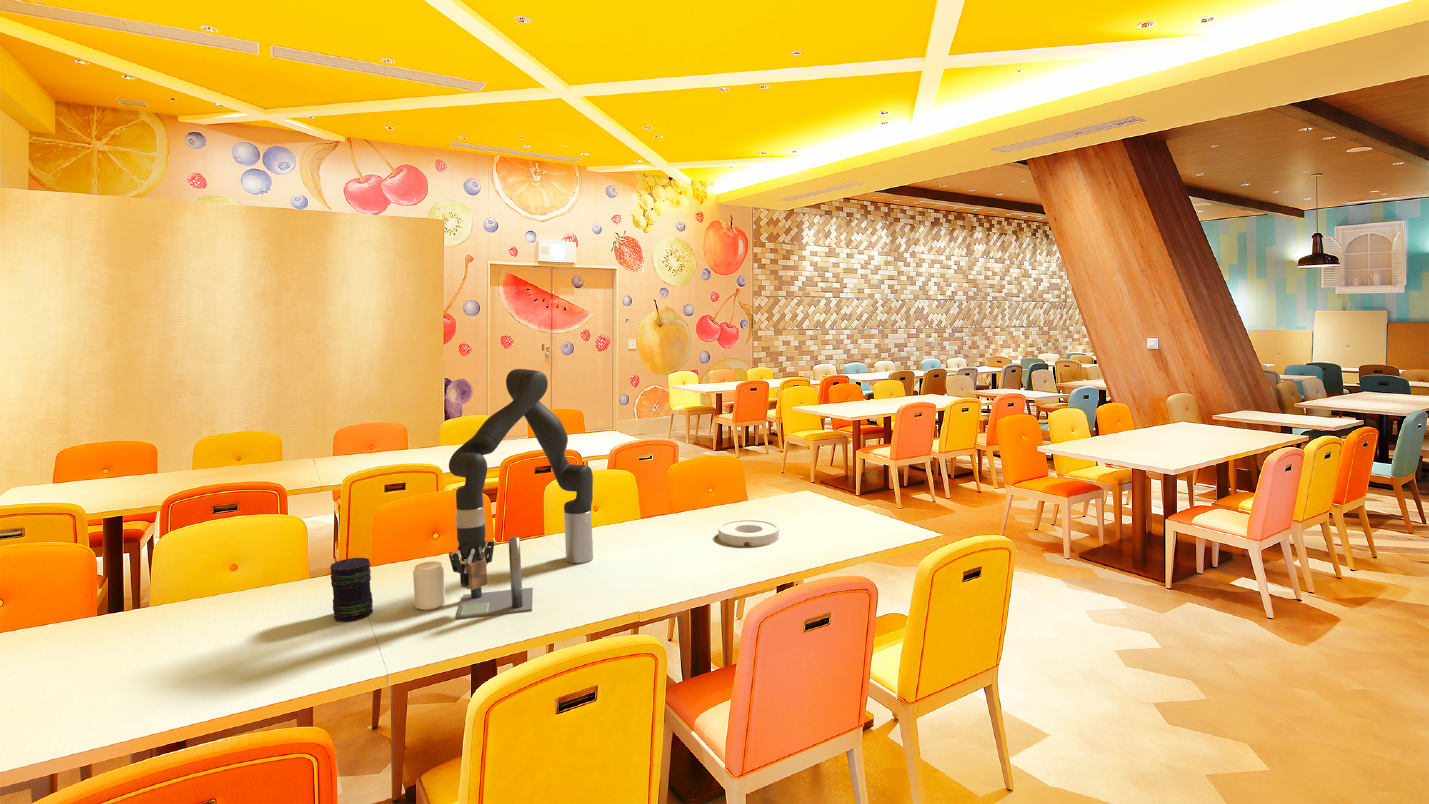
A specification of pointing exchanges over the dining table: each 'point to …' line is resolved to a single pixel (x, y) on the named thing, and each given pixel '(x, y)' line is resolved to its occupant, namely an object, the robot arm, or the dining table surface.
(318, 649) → the dining table surface
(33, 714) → the dining table surface
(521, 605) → the post
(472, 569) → the walnut block
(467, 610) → the pad
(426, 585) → the beverage can
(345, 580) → the black cylinder
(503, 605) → the mat
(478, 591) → the post
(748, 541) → the ashtray
